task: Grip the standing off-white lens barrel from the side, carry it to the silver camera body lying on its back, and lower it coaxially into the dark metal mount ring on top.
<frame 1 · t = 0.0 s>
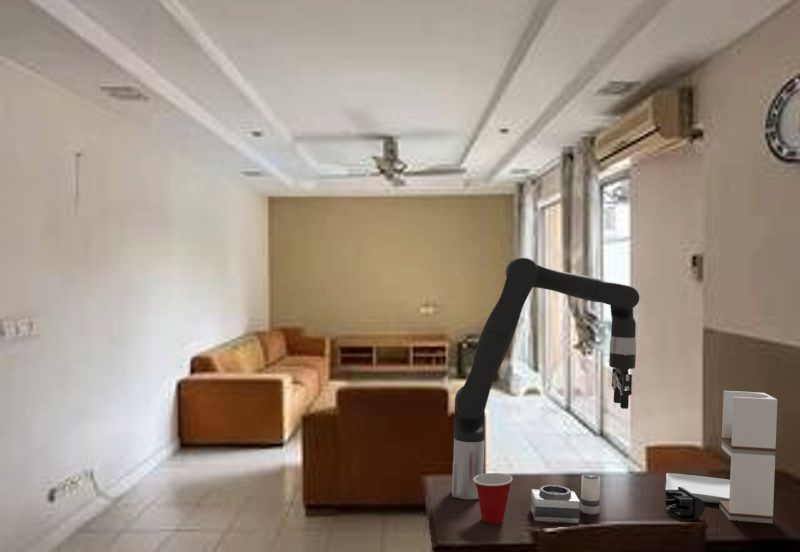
hand: (620, 405, 216), 29 cm above the table, tool pointing down, fingers open, 8 cm apart
salad plate: (701, 495, 228), on the table
lens barrel: (589, 511, 208), on the table
end cap: (684, 515, 208), on the table
white shelf tower: (745, 515, 209), on the table
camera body: (554, 516, 203), on the table
plastic cup: (491, 521, 198), on the table
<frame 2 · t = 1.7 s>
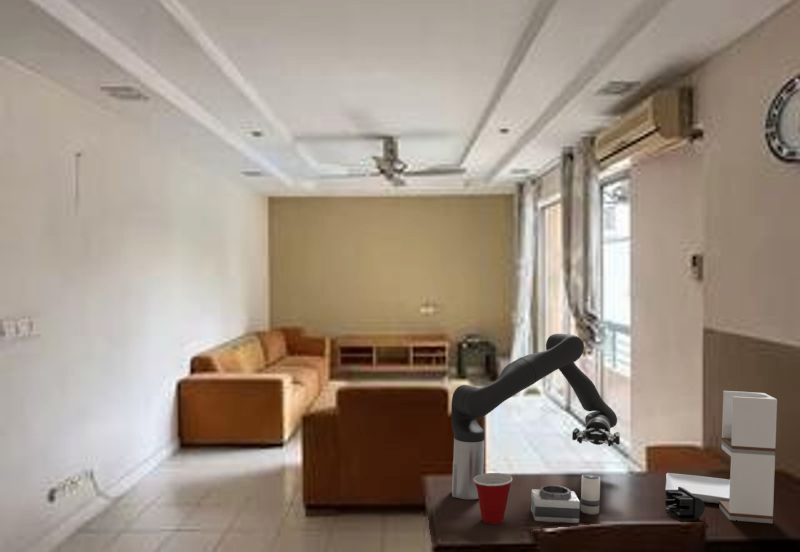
hand: (594, 441, 219), 18 cm above the table, tool horizontal, fingers open, 8 cm apart
nothing on the table moved.
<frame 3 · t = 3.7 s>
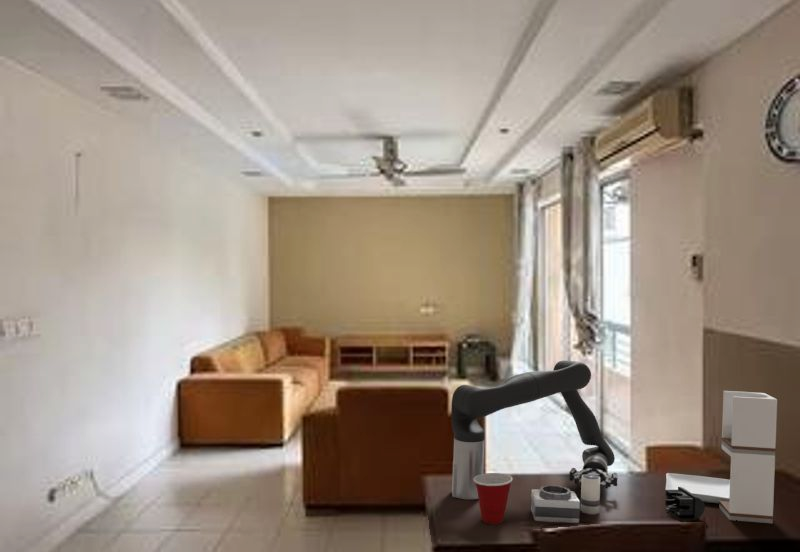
hand: (592, 483, 216), 6 cm above the table, tool horizontal, fingers open, 8 cm apart
nothing on the table moved.
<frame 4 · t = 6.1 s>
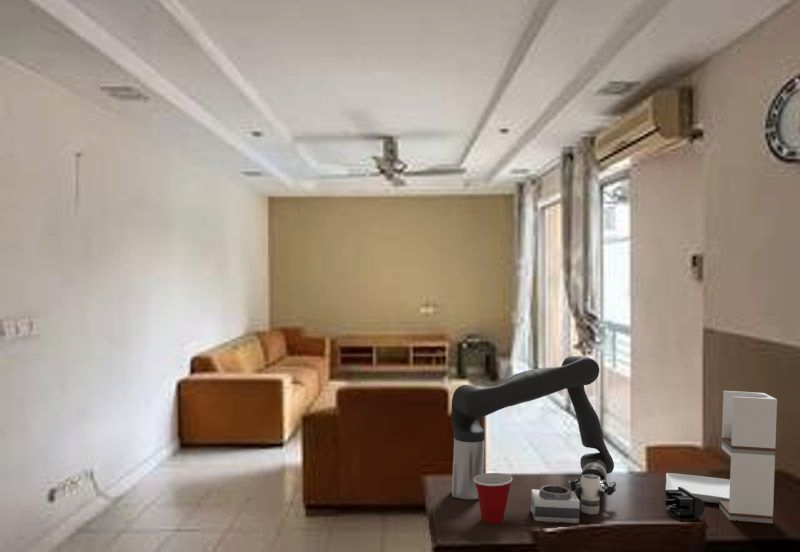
hand: (589, 492, 206), 6 cm above the table, tool horizontal, fingers closed on lens barrel, 5 cm apart
lens barrel: (589, 511, 208), on the table, touching gripper
everything else where it was.
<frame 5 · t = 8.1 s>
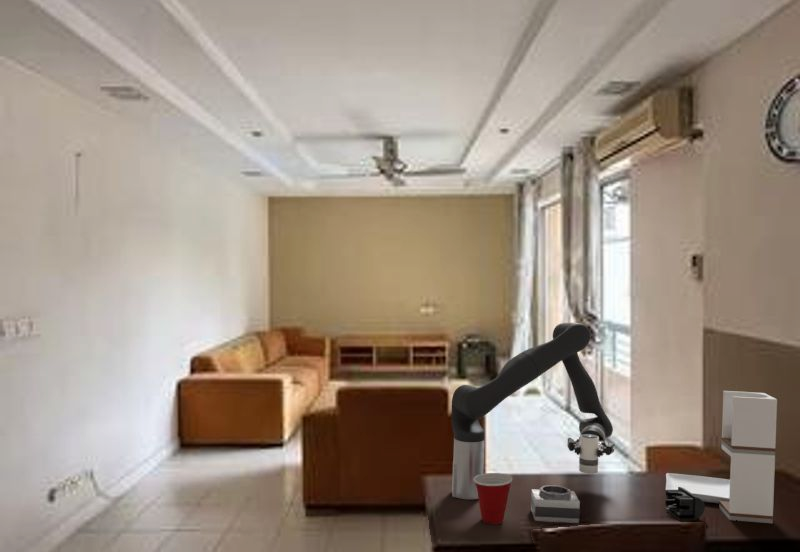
hand: (588, 452, 205), 18 cm above the table, tool horizontal, fingers closed on lens barrel, 5 cm apart
lens barrel: (588, 470, 208), point 12 cm above the table, touching gripper
everything else where it was.
when the fingers open (13 cm above the table, at t = 10.6 s): lens barrel stays where it is, resting on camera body.
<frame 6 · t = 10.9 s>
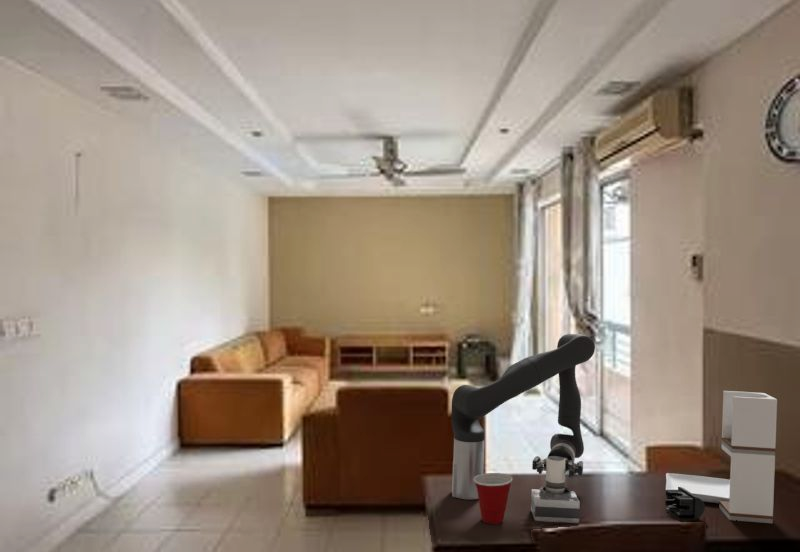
hand: (555, 472, 201), 13 cm above the table, tool horizontal, fingers open, 8 cm apart
lens barrel: (554, 493, 203), point 6 cm above the table, touching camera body
everything else where it was.
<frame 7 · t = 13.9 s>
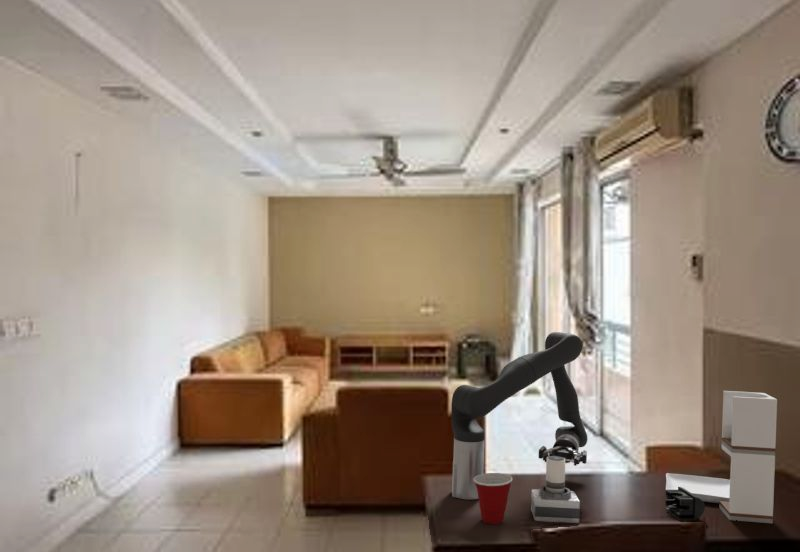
hand: (560, 460, 213), 13 cm above the table, tool horizontal, fingers open, 8 cm apart
nothing on the table moved.
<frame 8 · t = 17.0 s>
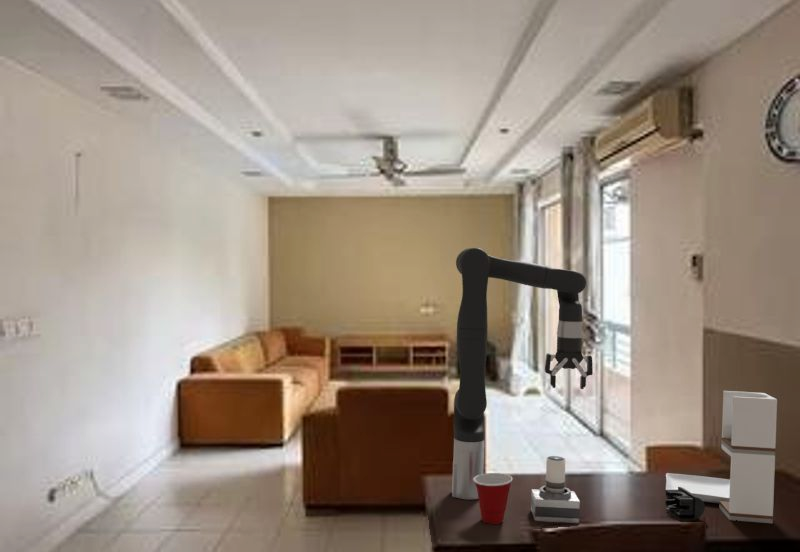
hand: (567, 388, 222), 33 cm above the table, tool pointing down, fingers open, 8 cm apart
nothing on the table moved.
at the end: lens barrel 0.1 cm off-centre on the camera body, point 6.3 cm above the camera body's base; lens barrel tilted 0°; the gripper is holding nothing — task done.
